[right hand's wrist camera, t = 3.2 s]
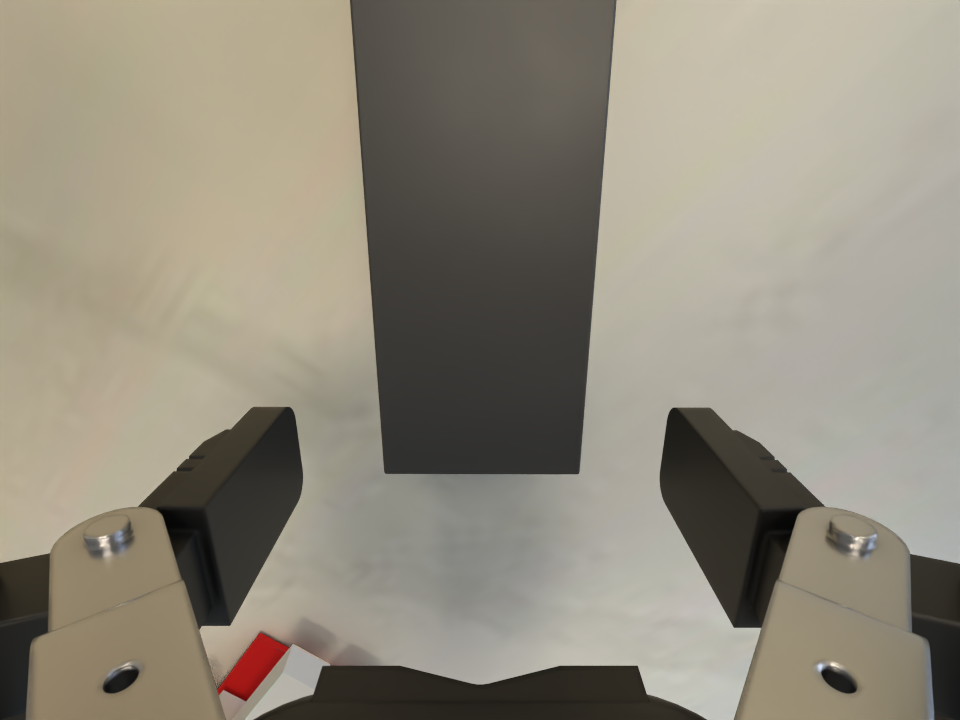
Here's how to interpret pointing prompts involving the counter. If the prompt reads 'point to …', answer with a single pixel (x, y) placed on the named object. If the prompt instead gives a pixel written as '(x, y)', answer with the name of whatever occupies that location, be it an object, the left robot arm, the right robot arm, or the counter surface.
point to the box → (482, 224)
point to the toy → (268, 678)
